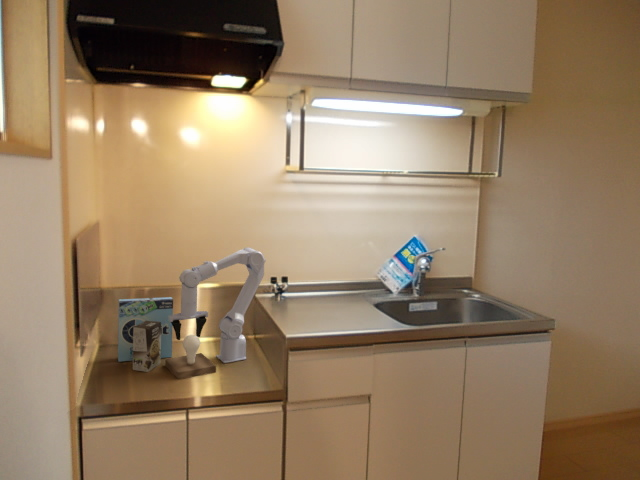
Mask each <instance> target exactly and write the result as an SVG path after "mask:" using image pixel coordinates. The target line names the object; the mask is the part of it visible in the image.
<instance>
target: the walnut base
mask: <svg viewBox="0 0 640 480" xmlns="http://www.w3.org/2000/svg"><path fill="white" fill-rule="evenodd" d="M164 366H165V367H166V368H167V370H169V372H170V373H171V374H172V375H173V376H174V377H175V378H176V379H177V380H183V379H188V378H192V377H198V376H203V375H208V374H209V375H210V374H214V373H217V365H216V364H215V363H214V362H213V361H212V360H210V359H209V358H208V357H207V356H206V355H205V354H203V353H201V352H200V353H196V357H195V362H194V363H193V364H189V363H188V361H187V355H181V356H177V357H171V358H164Z"/></svg>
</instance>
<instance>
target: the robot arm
mask: <svg viewBox="0 0 640 480" xmlns="http://www.w3.org/2000/svg"><path fill="white" fill-rule="evenodd" d="M265 263H266V259H265V256H264V254H263V253H262V252H261V251H259V250H255V249H253V248H252V247H248V246H247V247H245V248H243V249H238V250H237V251H236V252H234V253H233V252H232V253H231V254H229V255H227V256H225V257H223V258H221V259H219V260H217V261H215V262H213V261H211V260H209V261H208V260H204V261H203V263H202V264H199V265H197V266H192V267H191V269H189V268H188V269H187V268H186V269H184V270H183V271H182V272H181V273H180V274H179V277H178V280H179V281H180V282H181V292H180V312H179V313H173V315H169V320H168V321H170V322H171V323H172V325H173V330H174V332H175V339H176V340H177V341H180V340H181V328H182V323H181V321H185V320H191V319H195V325H196V328H195V330H196V331H195V336H197V337H198V338H200V337H201V334H202V331H203V328H204V326H205V325H206V323H207V318H209V311H207V310H201V311H200V310H199V311H197V310H198V286H199V284H200V283H201V282H204V281H205V280H209V279H210V278H212V277H215V276H216V275H217V274H218V272H219V271H220V270H224V269H226V268H229V267H232V266H234V265H236V264H240V265H244V266H246V269H247V270H248V271H247V272H248V276H247V278H246V280H245V282H244V284H243V285H242V288H241V289H240V292H239V294H238V296H237V298H236V300H235V301H234V304H233V306H232V308H231V309H230V310H229V311H228V312H226V314H225V315H224V317H223V318H221V320H220V321H219V324H218V328H219V330H220V331H221V334H220V350H219V351H220V352H219V353H220V354H216V355H215V357H216V358H217V359H218V360H220V361H221V362H222V363H223V364H227V363H232V362H239V361H242V360H243V361H244V360H246V359H247V355H246V354H247V341H246V337H245V335H244V334H242V333H243V326H244V324H245V314H246V312H247V310H248V308H249V306H250V305H251V302H252V301H253V298H254V296H255V295H256V293H257V290H258V288H259V286H260V284H261V282H262V280H263V278H264V276H265Z"/></svg>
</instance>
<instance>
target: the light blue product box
mask: <svg viewBox="0 0 640 480" xmlns="http://www.w3.org/2000/svg"><path fill="white" fill-rule="evenodd" d="M169 315H174V299H173V297H171V296H169V297H167V296H166V297H143V298H125V299H124V298H122V299H121V298H120V299H118V320H117V321H118V327H117V328H118V331H117V332H118V333H117V335H118V336H117V337H118V339H117V340H118V341H117V342H118V343H117V360H118V363H120V362H121V363H122V362H130V361H131V362H133V327H135V326H137V325H139V324H141V323H143V322H144V321H156V322H161V359H169V358H173V330H174V328H173V325H172V323H171V322H170V321H168V320H169Z"/></svg>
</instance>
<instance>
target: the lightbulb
mask: <svg viewBox="0 0 640 480" xmlns="http://www.w3.org/2000/svg"><path fill="white" fill-rule="evenodd" d="M200 346H201V339H200V337H197V336H196V334H189V335H187V336H186V337H184V339H183V341H182V347H183V349H184V351H185V354H186V356H187V361H188V363H189V364H193V363H194V362H195V357H196V354H197V351H198V350H199V348H200Z"/></svg>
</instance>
